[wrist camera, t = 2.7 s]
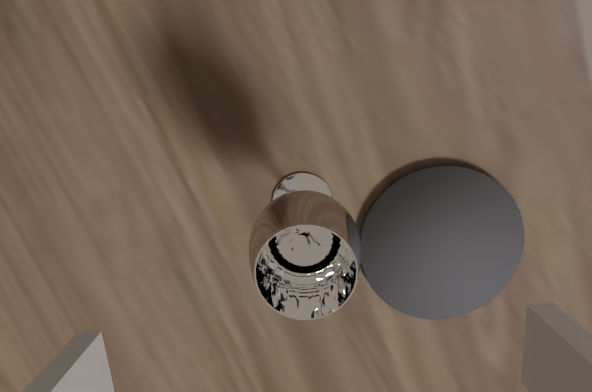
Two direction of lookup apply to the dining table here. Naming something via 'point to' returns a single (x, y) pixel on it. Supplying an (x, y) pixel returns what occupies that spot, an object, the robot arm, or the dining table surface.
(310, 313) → the wineglass
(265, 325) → the dining table surface
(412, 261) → the coaster
